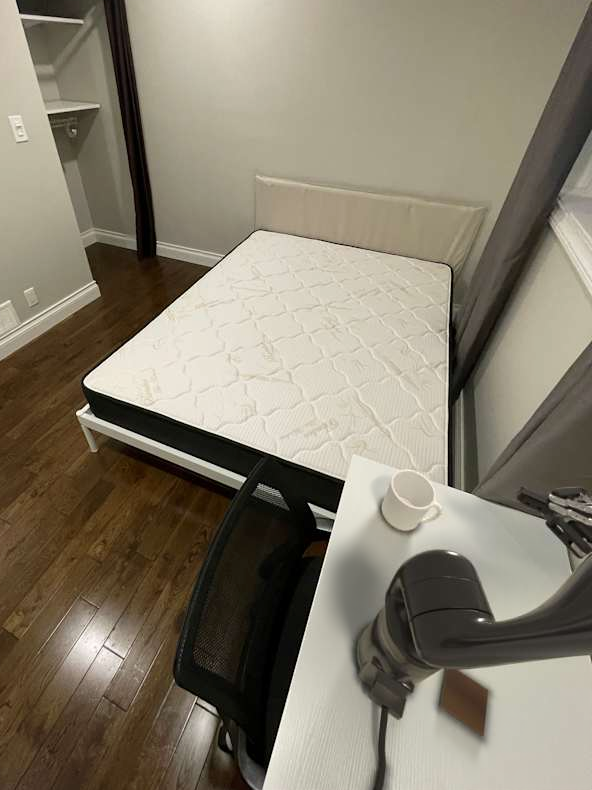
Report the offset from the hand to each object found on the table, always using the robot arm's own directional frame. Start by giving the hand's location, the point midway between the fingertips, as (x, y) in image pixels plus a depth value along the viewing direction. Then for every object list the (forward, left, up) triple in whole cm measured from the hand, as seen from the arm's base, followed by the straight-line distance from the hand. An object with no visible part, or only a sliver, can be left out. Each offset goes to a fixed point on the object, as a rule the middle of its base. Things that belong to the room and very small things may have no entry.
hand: (518, 492), depth 62 cm
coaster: (-25, -3, -22) cm, 34 cm away
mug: (0, +13, -23) cm, 26 cm away
